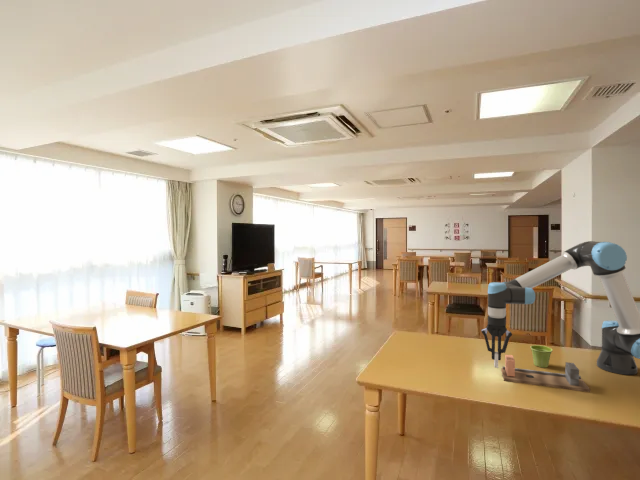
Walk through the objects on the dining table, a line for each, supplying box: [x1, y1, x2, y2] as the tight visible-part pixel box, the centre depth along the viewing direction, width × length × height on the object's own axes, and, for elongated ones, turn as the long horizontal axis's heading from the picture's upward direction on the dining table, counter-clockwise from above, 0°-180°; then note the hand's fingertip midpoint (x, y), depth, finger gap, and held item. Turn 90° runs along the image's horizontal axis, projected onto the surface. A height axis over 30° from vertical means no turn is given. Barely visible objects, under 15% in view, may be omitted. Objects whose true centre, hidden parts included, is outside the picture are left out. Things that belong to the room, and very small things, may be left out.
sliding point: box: [504, 354, 516, 377], centre depth 166 cm, size 3×8×7 cm, turn 159°
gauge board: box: [500, 361, 591, 393], centre depth 161 cm, size 32×12×8 cm, turn 69°
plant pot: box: [530, 344, 553, 369], centre depth 179 cm, size 9×9×9 cm
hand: (496, 366), depth 168 cm, fingers closed
